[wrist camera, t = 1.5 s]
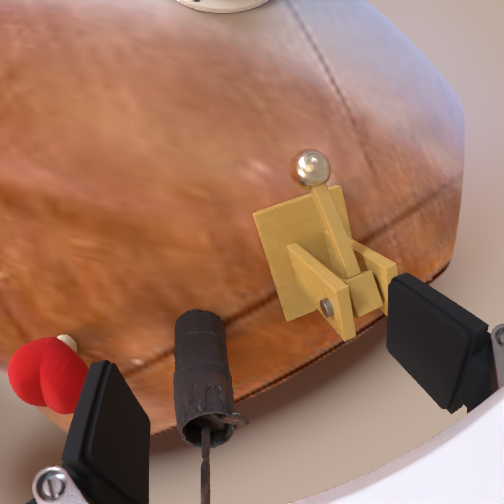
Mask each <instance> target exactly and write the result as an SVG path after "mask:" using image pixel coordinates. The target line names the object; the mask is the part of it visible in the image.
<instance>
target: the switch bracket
mask: <svg viewBox="0 0 504 504" xmlns="http://www.w3.org/2000/svg"><path fill="white" fill-rule="evenodd" d="M328 190H329V192H330V194H331V197H332V199H333V201H334V204H335V206H336V209H337V211H338V213H339V216H340V218H341V221H342V223H343V226H344V228H345V231H346V233H347V236H348V239H349V241H350V244H351V246H352V249H353V252H354V254H355V257H356V260H357V262H358V265H359V268H360V271H369V270H371V271H372V273H373V276H374V279H375V282H376V285H377V288H378V291H379V294H380V297H381V300H382V303H383V306H382V307H380V308H378V309H379V310H380V311H381V312H383V313H384V314H385V315H386V316H387V313H388V285H389V283H391V279H392V278H393V277H395V276H398V274H397V264H396V263H394V262H393V261H391V260H389V259H387V258H386V257H384V256H382V255H380V254H378V253H377V252H375V251H373V250H371V249H369V248H368V247H366V246H364V245H362V244H360V243H359V242H357V241H355V240H353V239H352V234H351V229H350V224H349V219H348V214H347V210H346V205H345V200H344V196H343V192H342V187H341V186H340V185H333V186H330V187H328ZM252 214H253V218H254V221H255V224H256V227H257V230H258V233H259V237H260V240H261V243H262V246H263V249H264V252H265V256H266V259H267V262H268V265H269V268H270V271H271V275H272V278H273V281H274V284H275V288H276V291H277V294H278V297H279V300H280V304H281V307H282V310H283V313H284V317H285V318H286V320H287V321H288V322H289V321H291V320H294V319H296V318H298V317H301V316H303V315H306V314H308V313H311V312H313V311H315V310H319V311H320V312H321V314H322V315H323V316H324V317H325V318H326V320H327V321H328V322H329V323H330V324H331V326H332V327H333V328H334V329H335V330H336V332H337V333H338V334H339V335H340V337H341V338H342V339H343V340H344V341H347V340H349V339H351V338H354V337H356V332H355V325H354V318H353V311H352V305H351V299H350V293H349V287H348V285H347V284H345V283H344V282H343V281H342V280H341V279H343V278H344V276H343V273H342V270H341V267H340V265H339V262H338V259H337V257H336V254H335V251H334V249H333V246H332V244H331V241H330V238H329V236H328V233H327V231H326V228H325V226H324V223H323V221H322V218H321V216H320V213H319V211H318V208H317V206H316V204H315V201H314V199H313V196H312V194H311V193H308V194H305V195H302V196H299V197H296V198H293V199H290V200H287V201H285V202H282V203H279V204H276V205H273V206H270V207H267V208H264V209H261V210H258V211H256V212H253V213H252Z"/></svg>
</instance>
